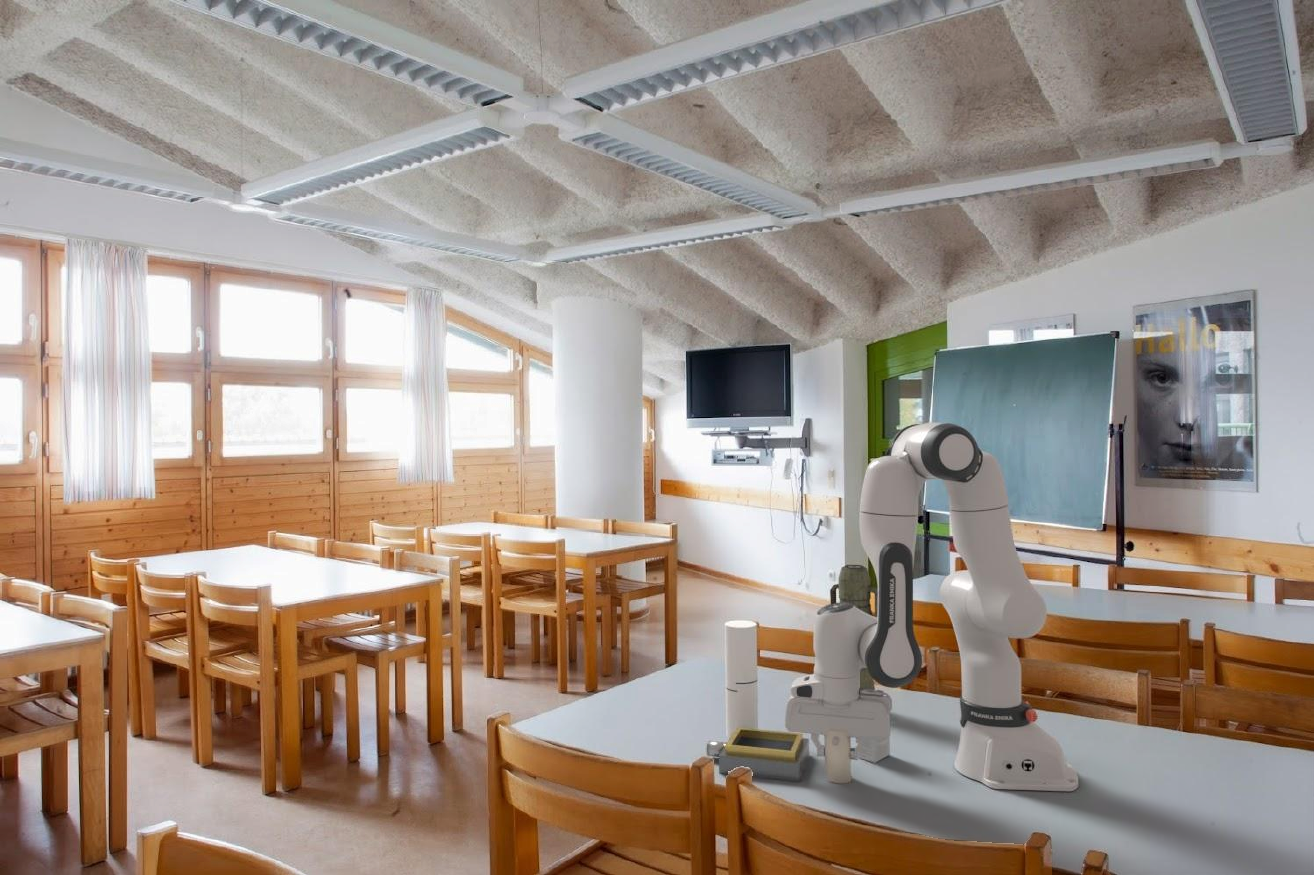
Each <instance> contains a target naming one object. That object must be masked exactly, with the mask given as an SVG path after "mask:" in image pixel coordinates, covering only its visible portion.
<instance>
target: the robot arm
mask: <svg viewBox="0 0 1314 875" xmlns="http://www.w3.org/2000/svg"><path fill="white" fill-rule="evenodd" d="M1002 472H1003V471H1002V469H1001V466H1000V463H999V461H998V460H997V458H996V457H995V456H994V455H993V454H991V453H989V452H986V451H982V450H981V449H980V448H979V446H978V443H977V441H976V439H975V437H974V436H973V435H972V434H971V433H970V432H969V431H968V429H965V428H964V427H962V426H960V425H957V424H954V423H947V422H946V423H942V422H937V421H936V422H933V421H932V422H931V421H930V422H925V423H921V424H920V423H918V424H917V423H915V424H914V423H913V424H910V425H907V426H905V427H904V428H901V429H900V430H899V431H897V433H896V434H895V436H893V438H892V440H891V441H890V445H889V447H888V449H887V451H886V452H885V455H884V456H880V457H877V458H875V459H873V460H871V462H869V464H868V465H867V467H866V470H865V474H864V478H863V482H862V486H861V495H860V502H859V503H860V504H859V516H858V518H859V519H858V522H859V523H858V525H859V536H860V542H861V546H862V548H863V550H864V552H865V553H866V556H867V557H868V559H869V561H870V562H871V565H872V568H873V570H874V574H875V577H876V583H877V590H878V610H877V617H875V615H873V616H871V615H869V614H867V613H865V612H863V611H861V610H859V609H858V608H856V607H855V606H854V605H853V604H850V603H840V602H836V603H833V604H831V603H829V604H827V605H825V606H823V607H822V606H821V608H820V609H819V610H818V611H817V612H816V615H815V618H814V626H813V653H814V655H815V656H814V657H815V663H814V666H813V674H808V675H804V676H800V677H796V678H795V679H794V681H793V682H792V683H791V687H790V697H789V699H788V701H787V703H786V708H785V715H784V716H785V717H784V726H785V728H786V730H787V731H788V732H790V733H801V734H810V739H811V742H813V745H814V747H815V748H816V756H817V757H824V758H825V744H822V743H821V742H820V740H819V738H820V736H821V735H822V736H824V735H827V733H828V730H835V731H845V735H846V737H851V738H855V744H856V745H855V747H851V750H850V759H851V761H852V760H854V761H859V758H858V751H859V750H860V748H861V747H862V745H863V743H864V739H874V740H887V739H888V738H889V737H891V730H892V729H891V719H890V713H891V712H892V710H893V699H892V697H891V696H890V695H889V694H888V693H887V692H884V690H882V689H875V690H870V689H860V669H861V668H867V669H868V671H869V673H870V675H871V677H872V678H873V681H875V682H876V683H877V684H879V685H881V686H883V687H884V688H885V687H886V688H892V689H893V688H895V689H896V688H901V687H905V686H907V685H909V684H910V683H912V682H913V681H915V679H917V677H918V676H919V674H920V671H921V670H922V666H923V655H922V652H921V648H920V647H919V644H918V642H917V639H916V636H915V632H914V565H915V564H914V562H915V550H916V549H915V548H916V542H917V533H918V522H919V521H918V520H919V518H918V517H919V499H920V498H919V497H920V493H921V490H922V488H923V486H924V484H925V483H926V482H927V480H938V479H940V480H941V481H942V483H943V484H944V487H945V488H946V492H947V495H948V507H949V515H950V516H949V517H950V524H951V531H952V539H953V546H954V548H955V551H956V552H957V554H958V555H959V556H960V558H961V559H962V562H964V564H965V567H966V569H963V570H957V571H953V572H951V573H950V574H948V575H947V576H946V577H945V578H944V579H943V581H942V583H941V585H940V590H939V595H940V596H939V599H940V601H941V604H942V607H943V608H944V609H945V611H946V612H947V614H948V616H949V618H950V621H951V623H952V627H953V630H954V634H955V638H956V641H957V646H958V650H959V656H960V667H961V669H960V670H961V672H960V673H961V695H960V696H959V704H958V707H959V708H958V709H959V710H958V711H959V712H958V713H959V714H958V716H959V723H960V726H961V727H960V735H959V743H958V748H957V754H956V757H955V761H954V763H953V767H954V769H956V772H958V773H960V774H961V775H963V776H965V777H966V778H970V779H972V780H975V781H978V782H980V783H982V784H984V785H985V786H987V787H989V788H990V789H995V790H1017V791H1019V790H1020V791H1023V790H1024V791H1045V792H1046V791H1047V792H1048V791H1050V792H1074V791H1075V790H1077V789H1078V788H1079V785H1080V782H1079V776H1078V774H1077V771H1076V770H1075V768H1074V767H1073V766H1072V765H1071V764H1069V763H1068V762H1066V760H1065V759H1066V758H1065V755H1064V752H1063V749H1062V746H1061V745H1060V743H1059V742H1058V741H1057V740H1056V738H1055V737H1053V736H1052V735H1051V734H1050V733H1048V732H1047V731H1046V730H1044V728H1041V726H1039V725H1038V724H1037V723H1036V721H1038V718H1039V717H1038V715H1037V712H1036V710H1034V709H1033V706H1032V705H1031V704H1030V703H1029V702H1028V701H1024V700H1023V699H1022V664H1021V661H1020V658H1019V657H1018V655H1017V653H1016V652H1015V650H1014V649H1013V647H1012V644H1011V643H1010V639H1029V638H1032V637H1034V636H1036V635H1037V634H1038V633H1039V632H1040V631H1041V630H1042V629H1043V627H1044V625H1045V623H1046V620H1047V614H1048V613H1047V605H1046V602H1045V600H1044V598H1043V597H1042V595H1041V594H1040V593H1039V592H1038V591H1037V589H1036V588H1035V587H1034V585H1032V583H1031V581H1030V579H1029V577H1028V576H1027V573H1026V571H1025V569H1024V566H1023V564H1022V561H1021V559H1020V556H1019V553H1018V551H1017V549H1016V545H1015V540H1014V536H1013V529H1012V528H1013V527H1012V521H1011V514H1010V513H1011V512H1010V506H1009V499H1008V492H1007V487H1006V483H1005V479H1004V476H1003V473H1002ZM1009 638H1010V639H1009Z"/></svg>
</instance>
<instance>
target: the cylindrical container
mask: <svg viewBox="0 0 1314 875" xmlns="http://www.w3.org/2000/svg"><path fill="white" fill-rule="evenodd" d="M757 625H758V624H757V622H755V621H751V620H743V619H742V620H736V619H735V620H731V621H726V622H725V623H724V658H725V659H724V664H725V665H724V666H725V669H724V670H725V672H724V674H725V730H726V731H725V732H726V734H725V735H726V737H727V738H729V739H730V737H731V736H732V734H733V733H734V732H735V730H736V728H737V727H738V728H749V729H759V707H758V704H759V703H758V702H759V700H758V699H759V698H758V696H759V695H758V693H759V692H758V636H757V635H758V634H757V632H758V630H757Z"/></svg>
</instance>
